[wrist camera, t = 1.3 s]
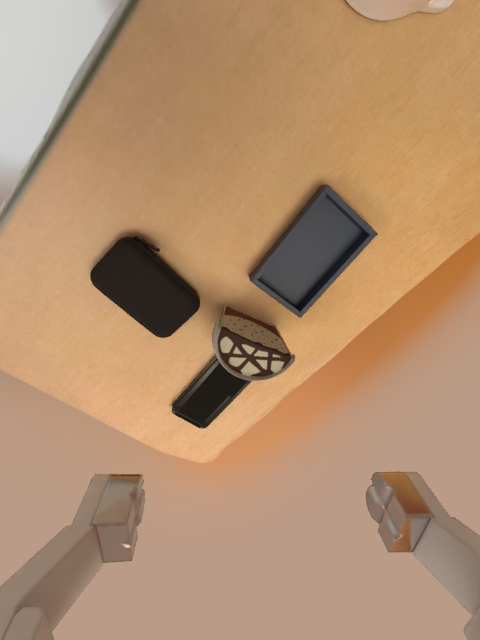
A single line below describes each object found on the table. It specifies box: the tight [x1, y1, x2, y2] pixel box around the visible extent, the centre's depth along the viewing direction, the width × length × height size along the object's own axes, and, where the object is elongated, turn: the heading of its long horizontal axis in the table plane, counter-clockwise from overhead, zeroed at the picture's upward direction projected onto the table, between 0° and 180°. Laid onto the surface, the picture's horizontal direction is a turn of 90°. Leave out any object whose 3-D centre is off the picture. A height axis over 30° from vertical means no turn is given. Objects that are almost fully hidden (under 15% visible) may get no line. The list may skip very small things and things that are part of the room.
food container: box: [212, 304, 295, 381], centre depth 44 cm, size 12×6×10 cm, turn 64°
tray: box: [249, 185, 377, 318], centre depth 43 cm, size 16×10×2 cm, turn 142°
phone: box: [172, 356, 251, 428], centre depth 53 cm, size 8×1×15 cm
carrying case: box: [90, 236, 200, 338], centre depth 43 cm, size 11×3×15 cm
